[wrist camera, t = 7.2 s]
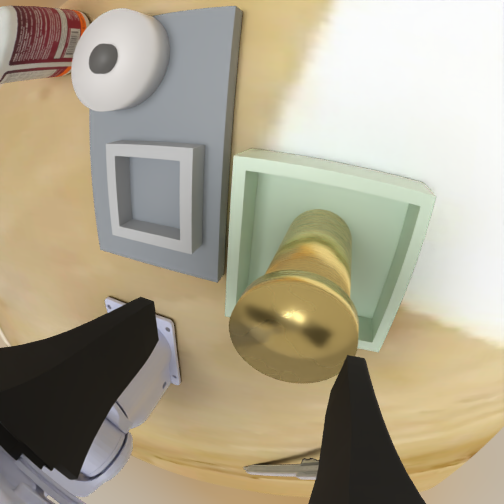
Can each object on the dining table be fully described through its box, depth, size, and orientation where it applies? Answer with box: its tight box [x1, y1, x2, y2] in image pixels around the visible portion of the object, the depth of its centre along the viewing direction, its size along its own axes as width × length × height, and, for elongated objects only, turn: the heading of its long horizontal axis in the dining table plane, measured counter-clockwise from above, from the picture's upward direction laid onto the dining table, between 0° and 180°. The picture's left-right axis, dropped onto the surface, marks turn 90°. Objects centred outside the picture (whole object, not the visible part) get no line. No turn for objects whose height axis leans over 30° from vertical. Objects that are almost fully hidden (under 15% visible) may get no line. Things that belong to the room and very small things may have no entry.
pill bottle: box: [0, 6, 90, 84], centre depth 12 cm, size 6×6×11 cm
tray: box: [225, 148, 436, 352], centre depth 18 cm, size 10×10×3 cm
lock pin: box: [229, 209, 359, 383], centre depth 14 cm, size 5×5×9 cm
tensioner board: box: [71, 6, 243, 283], centre depth 17 cm, size 18×11×4 cm, turn 175°
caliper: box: [243, 458, 319, 480], centre depth 30 cm, size 20×1×6 cm, turn 143°
